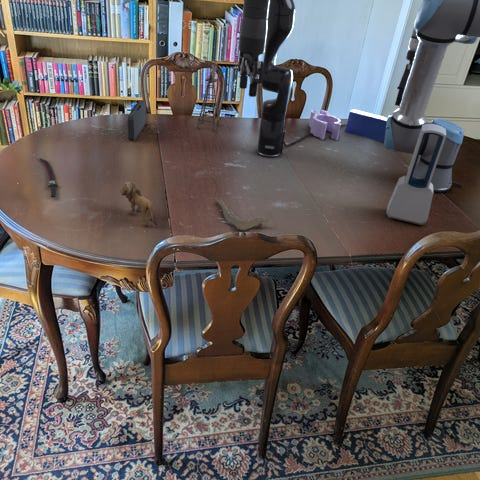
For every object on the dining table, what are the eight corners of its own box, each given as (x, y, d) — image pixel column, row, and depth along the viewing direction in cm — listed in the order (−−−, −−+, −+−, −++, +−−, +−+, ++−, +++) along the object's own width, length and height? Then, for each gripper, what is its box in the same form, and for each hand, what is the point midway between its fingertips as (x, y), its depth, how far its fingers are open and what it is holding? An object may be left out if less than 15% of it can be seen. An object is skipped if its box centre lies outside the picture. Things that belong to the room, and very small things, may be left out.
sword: (61, 197, 141) (61, 193, 140) (50, 198, 139) (50, 194, 139) (49, 160, 164) (48, 156, 163) (39, 160, 163) (39, 157, 162)
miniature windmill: (214, 131, 201) (219, 58, 184) (195, 128, 202) (199, 55, 185) (219, 124, 208) (224, 54, 192) (201, 122, 209) (205, 51, 193)
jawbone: (250, 238, 132) (250, 232, 131) (198, 212, 143) (198, 206, 141) (269, 225, 138) (269, 219, 137) (218, 201, 148) (218, 195, 147)
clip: (302, 123, 220) (305, 109, 217) (327, 124, 223) (330, 110, 219) (316, 139, 204) (319, 124, 200) (342, 140, 207) (346, 124, 203)
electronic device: (425, 217, 152) (456, 128, 136) (425, 227, 146) (458, 136, 130) (386, 208, 155) (413, 120, 139) (385, 218, 149) (412, 127, 133)
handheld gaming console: (139, 121, 202) (139, 98, 197) (146, 122, 202) (145, 99, 197) (127, 140, 183) (126, 115, 178) (134, 141, 183) (133, 116, 178)
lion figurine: (118, 210, 138) (116, 182, 133) (132, 204, 141) (131, 177, 137) (151, 229, 130) (150, 201, 126) (165, 223, 134) (165, 195, 129)
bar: (345, 131, 217) (349, 111, 212) (349, 128, 221) (353, 109, 216) (397, 145, 207) (402, 125, 202) (400, 142, 211) (406, 122, 206)
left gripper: (274, 40, 128) (267, 99, 137) (256, 30, 139) (251, 85, 148) (249, 39, 125) (243, 99, 134) (233, 29, 137) (228, 85, 145)
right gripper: (418, 55, 178) (403, 110, 189) (433, 49, 197) (418, 99, 208) (399, 51, 181) (385, 106, 192) (415, 45, 200) (401, 95, 211)
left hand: (247, 92), depth 141 cm, fingers open, 8 cm apart
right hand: (402, 102), depth 200 cm, fingers open, 13 cm apart
